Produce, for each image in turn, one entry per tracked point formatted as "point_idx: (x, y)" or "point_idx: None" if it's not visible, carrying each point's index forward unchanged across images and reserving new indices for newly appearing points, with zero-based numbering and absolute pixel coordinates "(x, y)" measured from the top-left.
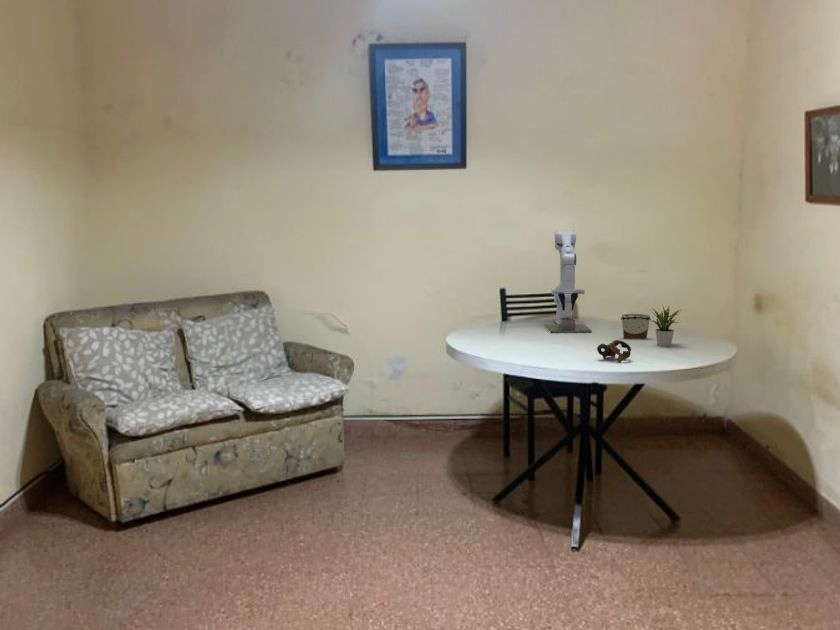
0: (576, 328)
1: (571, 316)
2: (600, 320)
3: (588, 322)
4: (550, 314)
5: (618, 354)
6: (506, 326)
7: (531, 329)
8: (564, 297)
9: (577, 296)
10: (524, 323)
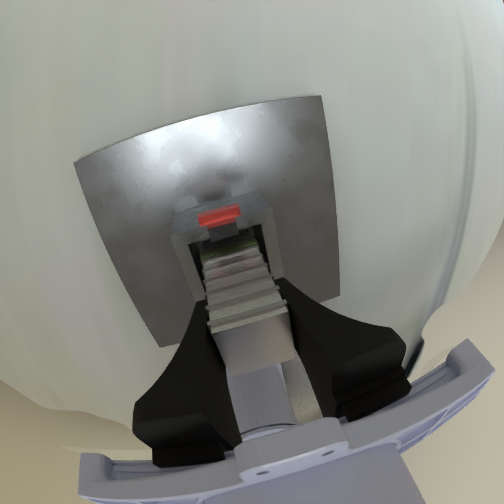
0: (166, 213)
1: (203, 261)
2: None
3: None
4: None
5: None
6: (448, 250)
7: (394, 201)
8: (334, 348)
9: (137, 408)
10: (388, 323)
